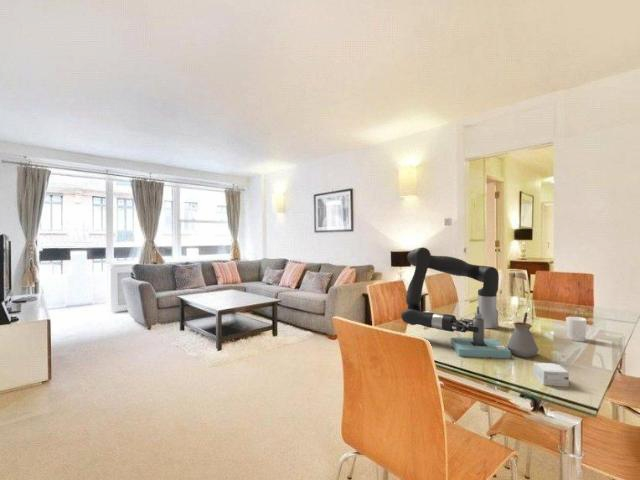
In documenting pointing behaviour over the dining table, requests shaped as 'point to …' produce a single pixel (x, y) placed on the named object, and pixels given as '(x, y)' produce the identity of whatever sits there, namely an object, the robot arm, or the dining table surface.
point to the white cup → (576, 328)
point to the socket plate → (480, 348)
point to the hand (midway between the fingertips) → (481, 327)
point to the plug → (479, 322)
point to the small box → (551, 374)
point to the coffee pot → (522, 340)
